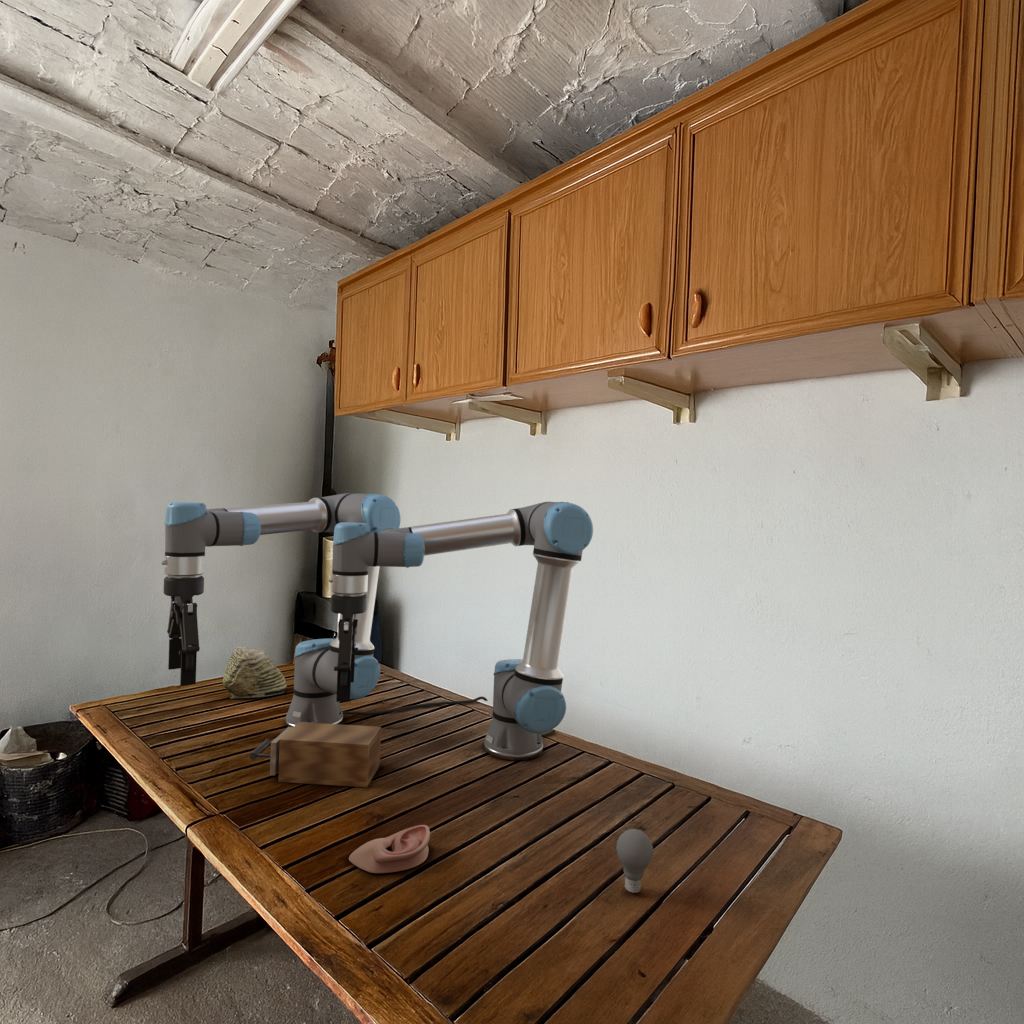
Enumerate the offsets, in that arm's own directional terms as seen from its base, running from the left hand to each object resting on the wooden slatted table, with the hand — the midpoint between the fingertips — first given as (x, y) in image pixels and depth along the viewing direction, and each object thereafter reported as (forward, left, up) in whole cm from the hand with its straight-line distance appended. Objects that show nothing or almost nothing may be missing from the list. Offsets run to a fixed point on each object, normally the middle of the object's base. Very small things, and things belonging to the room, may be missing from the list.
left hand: (181, 676), depth 133 cm
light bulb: (-35, +89, -24) cm, 98 cm away
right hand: (-24, +24, -3) cm, 34 cm away
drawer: (-24, +11, -23) cm, 35 cm away
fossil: (-44, -48, -24) cm, 70 cm away
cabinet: (-27, +16, -24) cm, 40 cm away
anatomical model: (-14, +51, -24) cm, 59 cm away
